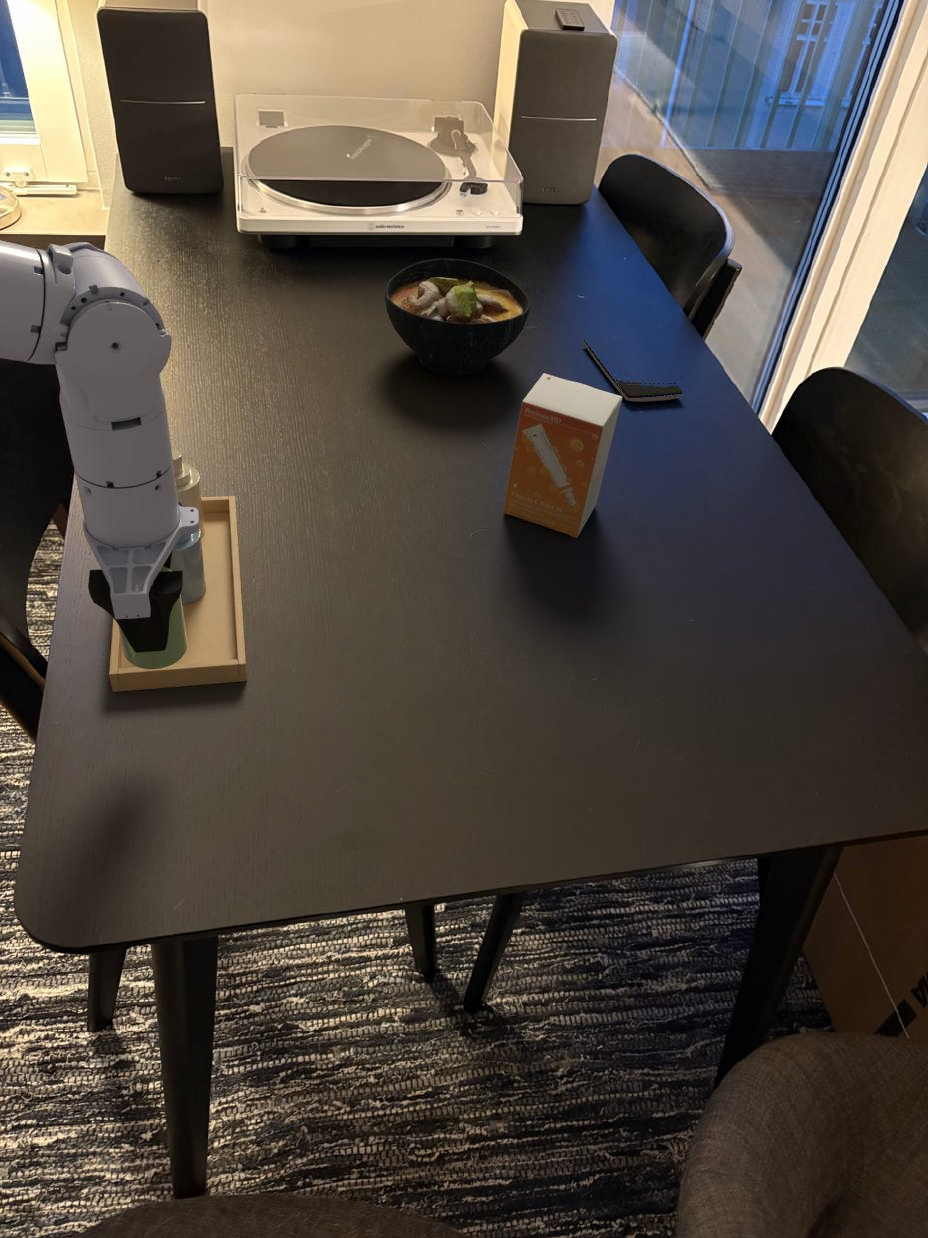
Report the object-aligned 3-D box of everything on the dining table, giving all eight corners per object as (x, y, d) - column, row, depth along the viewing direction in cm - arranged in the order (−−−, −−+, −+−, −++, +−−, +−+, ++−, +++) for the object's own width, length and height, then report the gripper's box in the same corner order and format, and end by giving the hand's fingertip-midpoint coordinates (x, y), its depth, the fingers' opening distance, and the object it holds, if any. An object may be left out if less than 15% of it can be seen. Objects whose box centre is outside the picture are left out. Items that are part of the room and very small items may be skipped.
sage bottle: (122, 672, 67) (103, 581, 62) (125, 628, 70) (107, 538, 65) (187, 667, 68) (174, 577, 63) (187, 624, 71) (175, 534, 66)
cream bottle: (155, 547, 87) (143, 469, 81) (156, 517, 90) (144, 440, 85) (205, 544, 88) (197, 468, 82) (204, 515, 91) (196, 439, 86)
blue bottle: (153, 607, 82) (140, 528, 76) (154, 573, 85) (142, 495, 79) (207, 603, 83) (198, 525, 77) (206, 570, 86) (197, 493, 80)
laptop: (635, 333, 126) (685, 392, 116) (633, 341, 127) (682, 401, 117) (583, 335, 124) (629, 396, 114) (581, 344, 125) (626, 405, 115)
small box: (501, 514, 97) (519, 399, 88) (523, 482, 101) (542, 370, 92) (578, 540, 95) (604, 425, 86) (597, 506, 99) (624, 394, 90)
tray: (112, 692, 75) (108, 674, 74) (124, 517, 91) (121, 500, 89) (247, 681, 77) (245, 663, 76) (236, 512, 93) (235, 495, 91)
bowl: (509, 328, 126) (519, 253, 119) (531, 397, 114) (544, 318, 107) (378, 323, 124) (381, 246, 117) (386, 393, 111) (390, 312, 105)
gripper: (192, 532, 54) (211, 695, 63) (191, 396, 64) (208, 554, 74) (58, 538, 53) (98, 704, 62) (79, 398, 63) (111, 559, 72)
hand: (151, 623), depth 68 cm, fingers closed on sage bottle, 4 cm apart
